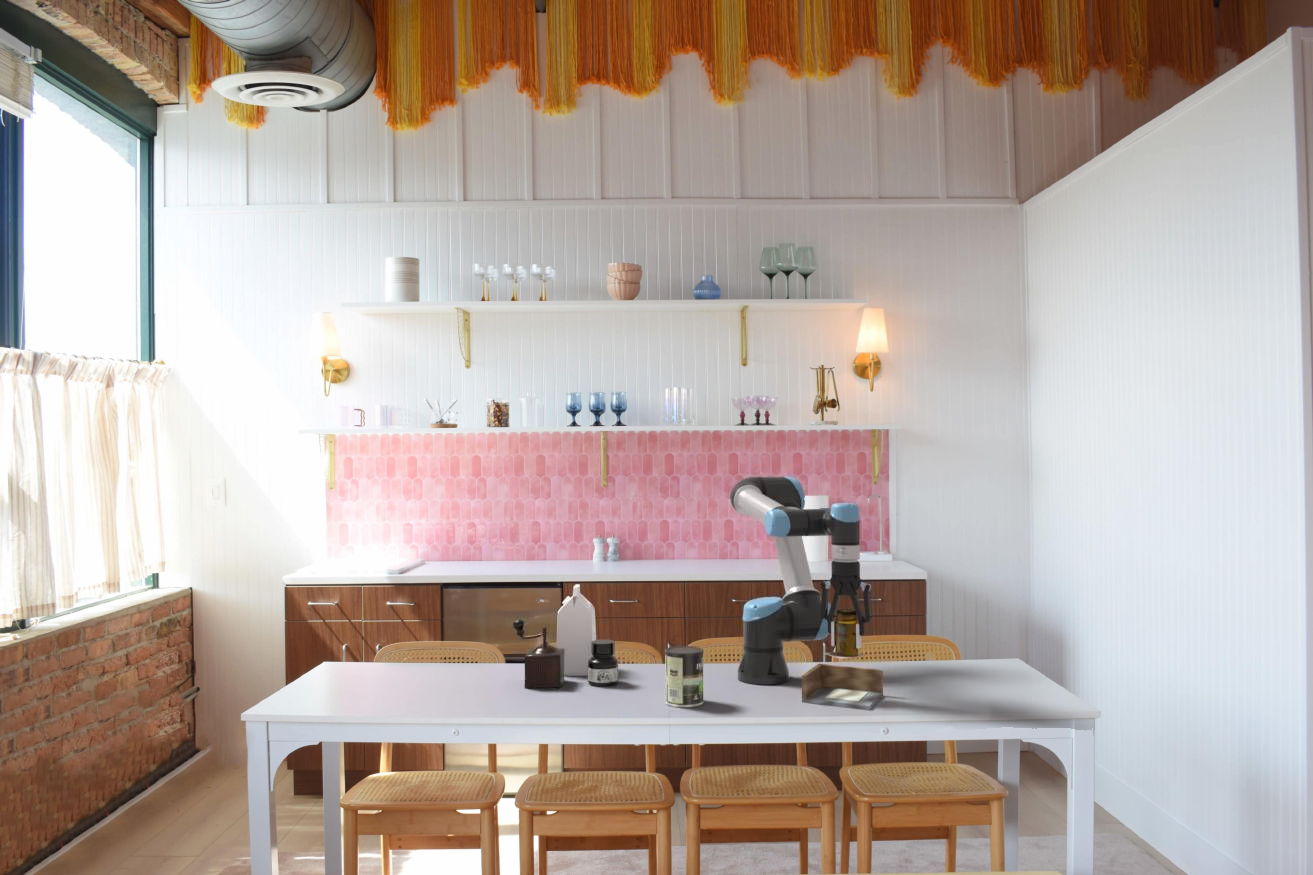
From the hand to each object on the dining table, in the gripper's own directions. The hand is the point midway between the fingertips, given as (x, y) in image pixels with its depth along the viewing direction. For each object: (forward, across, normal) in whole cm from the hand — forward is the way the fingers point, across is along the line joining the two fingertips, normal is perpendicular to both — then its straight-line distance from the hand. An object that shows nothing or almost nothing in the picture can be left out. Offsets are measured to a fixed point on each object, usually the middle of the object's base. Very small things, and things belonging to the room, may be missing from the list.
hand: (846, 646), depth 248 cm
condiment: (+3, -1, 0) cm, 3 cm away
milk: (+14, -83, -3) cm, 84 cm away
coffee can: (+14, -38, -22) cm, 46 cm away
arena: (+14, -1, 0) cm, 14 cm away
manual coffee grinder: (+14, -85, -22) cm, 89 cm away
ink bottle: (+14, -68, -13) cm, 71 cm away
